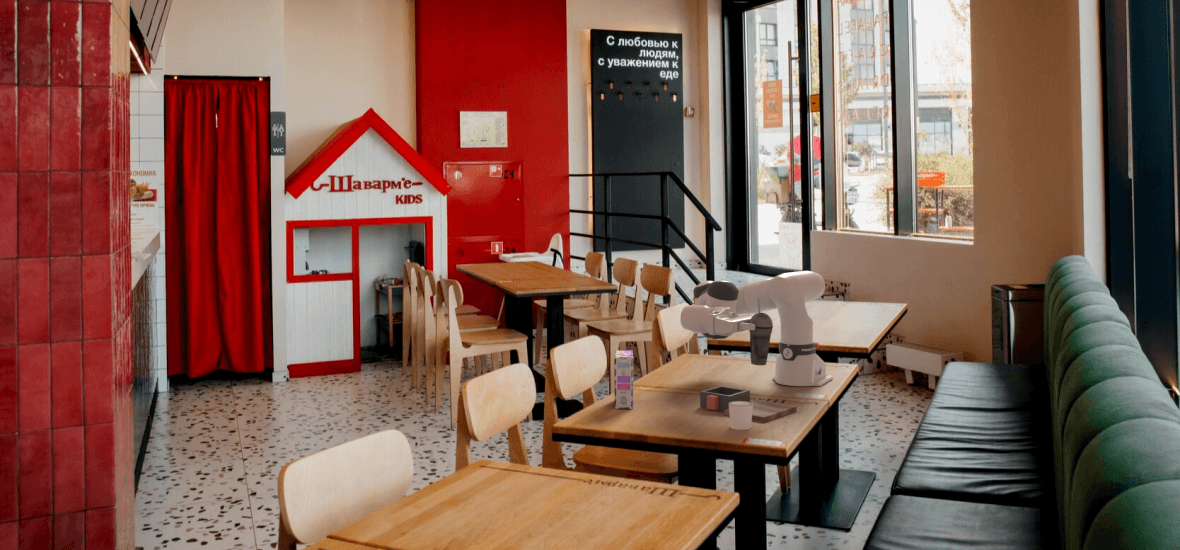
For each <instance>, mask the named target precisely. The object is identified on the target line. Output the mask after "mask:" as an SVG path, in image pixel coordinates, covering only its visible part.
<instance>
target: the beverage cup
mask: <svg viewBox="0 0 1180 550" xmlns="http://www.w3.org/2000/svg"><path fill="white" fill-rule="evenodd" d="M754 314H755V315H753V316H752V318H751V319H750V322H749V324H751V323H753V324H757V329H756V330H748V331H749V344H750V345H749V346H750V347H749V349H750V364H751V365H754V366H766V365H767V361H768V357H769V356H768V355H769V350H770V349H769V348H770V343H771V342H770V341H771V336H772V333H773V328H774V325H773V324H774V323H773V320H772V318H771V316H770V315H769V314H767V313H766V312H760V301H759V298H758V313H754Z"/></svg>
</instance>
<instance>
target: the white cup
mask: <svg viewBox="0 0 1180 550" xmlns="http://www.w3.org/2000/svg"><path fill="white" fill-rule="evenodd" d="M751 402H752V401H750V402H746V401H733V402H729V414H730V416H729V423H730V428H731V429H732V430H737V431H744V430H746V431H747V430H750V429H751V428H752V422H753V420H752V410H753V403H751Z"/></svg>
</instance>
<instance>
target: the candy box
mask: <svg viewBox="0 0 1180 550" xmlns="http://www.w3.org/2000/svg"><path fill="white" fill-rule="evenodd" d="M633 352H634V351H633V350H615V354H614V359H613V360H614V365H613V366H614V370H613V371H614V377H613V378H614V409H615V410H633V409H634V353H633Z"/></svg>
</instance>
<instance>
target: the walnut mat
mask: <svg viewBox="0 0 1180 550" xmlns="http://www.w3.org/2000/svg"><path fill="white" fill-rule="evenodd" d="M750 402H751V403H753V410H752V422H753V421H754V422H760V423H767V422H770V421H773V420H775V419H778V418H782V417H784V416H788V415H789V414H792V413H796V412H797V409H798V408H797V406H795V405H790V404H784V403H783V404H782V403H778V402H772V401H766V400H760V399H756V400H753V401H750ZM723 415H724V416H729V417H730V414H729V409H726V410H724V411H723Z"/></svg>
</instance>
